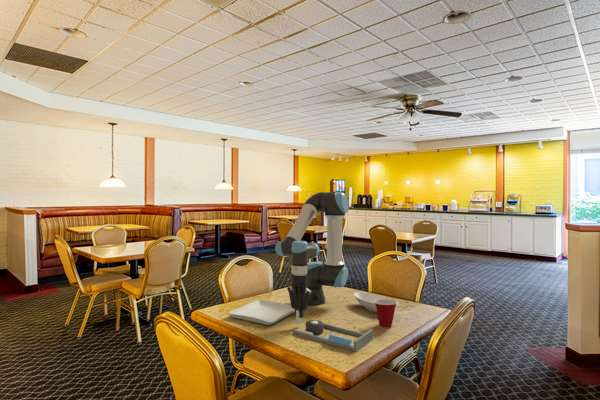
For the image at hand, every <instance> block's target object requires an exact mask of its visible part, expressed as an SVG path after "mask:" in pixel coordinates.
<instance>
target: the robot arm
mask: <svg viewBox="0 0 600 400" xmlns="http://www.w3.org/2000/svg"><path fill="white" fill-rule="evenodd" d="M349 207H350V204H349V198H348V196H347V195H346V193H344V192H339V191H333V192H331V191H326V192H325V191H324V192H322V191H320V192H316V193H314V194H312V195H311V196H309V198H307V199H306V200H305V201H304V203H303V204H302V206H301V212H300V213H299V214H298V215H297V217H296V220H295V221H294V222H293V225H292V226H291V229H290V230H288V231H289V232H288V233H287V235H286V237H285V238H284V240H279V241H277V242H276V243H275V248H274V250H275V252H276V254H277V256H281V257H291V285H290V286H288V287H287V288H286V290H287V291H288V295H289V300H290V305H291V307H292V308H294V309H295V312H294V317H295V325H297V326H299V325H302V324H303V318H304V311H305V310H307V309H308V307H309V306H316V305H317V306H319V305H323V304H325V303H326V296H325V294H324V289H323V286H326V287H332V288H343V287H345V285H346V283H347V281H348V278H349V269H348V267H346V266H345V262H344V261H343V218H345V216H346V214H347V213H348V212H349ZM318 213H324V216H325V219H326V225H327V227H326V260H325V262H324V263H323V261H312V262H311V261H310V262H308V260H310V259H314V258H316V257H318V255H319V254H320V246H319V245H318V243H316V242H307V241H306V240H302V238H303V236H304V235H305V233H306V232H307V229H308V228H309V226H310V224H311V222H312V220H313V219H314V217H317V215H318Z"/></svg>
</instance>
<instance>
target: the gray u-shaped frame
mask: <svg viewBox="0 0 600 400" xmlns="http://www.w3.org/2000/svg"><path fill="white" fill-rule="evenodd" d="M324 328H325V329H328V330H332V331H335V332H340V333H345V334H348V335H352V336H355V337H357V338H356V339H355V340H352V339H351V338H346V337H343V336H339V335H336V334H331V333H330V334H328V336H327V335H326V336H325V337H323V336H319V335H313V333H311V332H307V331H306V330H304V329H299V328H298V329H293V330H292V334H293V335H296V336H300V337H302V338H306V339H309V340H314V341H317V342H319V343H324V344H327V345H331V346H334V347H338V348H341V349H345V350H349V351H351V352H355V353H357V352H358V351H359V350H361V349H362V348H364V346H366V345H367V344H369V343H370V342H371V341H373V339H374V330H373V329H369V330H367V331H366V332H364V333H363V332H359V331H356V330H352V329H348V328H344V327H339V326H337V325H331V324H327V323H324V322H323V329H324ZM352 342H353V343H352Z"/></svg>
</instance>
